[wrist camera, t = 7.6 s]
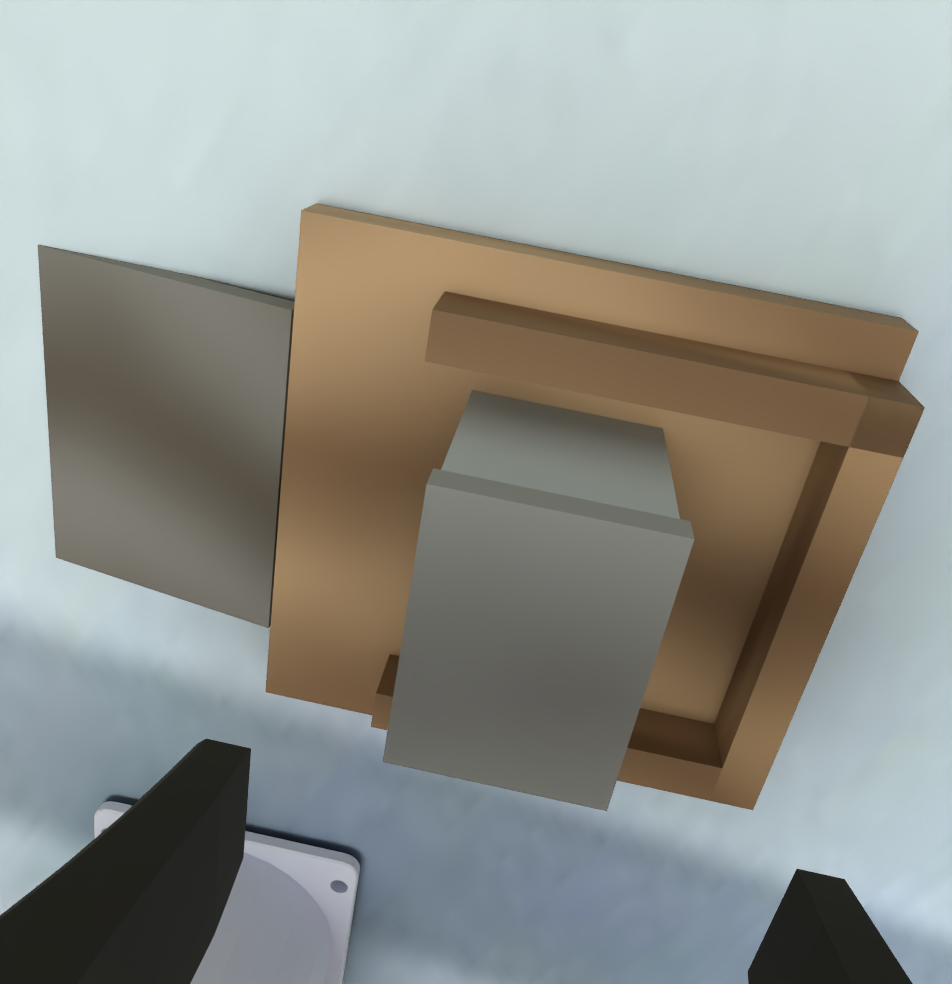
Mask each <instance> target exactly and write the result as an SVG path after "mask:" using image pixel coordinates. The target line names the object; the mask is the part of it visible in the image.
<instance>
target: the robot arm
mask: <svg viewBox="0 0 952 984" xmlns="http://www.w3.org/2000/svg"><path fill="white" fill-rule="evenodd" d="M250 754H251V749H250V748H246V747H241V746H237V745H232V744H228V743H223V742H219V741H214V740H209V739H205V740H203V741H201V742H199V743H198V744H197V745H196V746H195V747H194V748H193V749H192V750H191V751H189V752H188V753H187V754H186V755H185V756H184V757H183V758H182V759H181V760H180V761H179V762H178V763H177V764H176V765H175V766H174V767H173V768H172V769H171V770H170V771H169V772H168V773H167V774H166V775H165V776H164V777H163V778H162V779H161V780H160V781H159V782H158V783H156V784H155V785H154V786H153V787H152V788H151V789H150V790H149V791H148V792H147V793H146V794H145V795H144V796H142V797H141V798H140V799H139V800H138V801H137V802H136V803H135V804H134V805H133V806H132V805H128V804H123V803H119V802H112V801H108V802H104V803H103V804H102V805H101V806H100V807H99V808H98V810H97V811H96V813H95V815H94V835H95V839H94V840H93V841H92V842H91V843H89V844H88V845H87V846H86V847H85V848H84V849H82V850H81V851H80V852H79V853H78V854H77V855H76V856H74V857H73V858H72V859H71V860H70V861H68V862H67V863H66V864H65V865H64V866H62V867H61V868H60V869H59V870H57V871H56V872H55V873H54V874H52V875H51V876H50V877H48V878H47V879H46V880H45V881H43V882H42V883H41V884H40V885H38V886H37V887H36V888H35V889H33V890H32V891H31V892H29V893H28V894H27V895H26V896H24V897H23V898H22V899H21V900H19V901H18V902H17V903H16V904H14V905H13V906H12V907H11V908H9V909H8V910H7V911H5V912H4V913H3V914H1V915H0V984H342V983H343V977H344V970H345V964H346V957H347V951H348V944H349V938H350V931H351V925H352V918H353V912H354V905H355V899H356V892H357V886H358V880H359V873H360V864H359V863H358V861H357V860H356V859H355V858H354V857H353V856H351V855H349V854H346V853H342V852H338V851H333V850H329V849H324V848H320V847H315V846H311V845H306V844H302V843H297V842H293V841H288V840H284V839H280V838H275V837H271V836H266V835H262V834H257V833H253V832H248V831H245V828H246V813H247V799H248V784H249V769H250ZM339 880H340V881H339ZM341 881H342V882H341ZM748 981H749V984H912V982H911V981H910V979H909V978H908V976H907V975H906V973H905V972H904V970H903V969H902V967H901V965H900V964H899V962H898V961H897V959H896V958H895V956H894V955H893V953H892V952H891V950H890V949H889V947H888V945H887V944H886V942H885V941H884V939H883V938H882V936H881V935H880V933H879V932H878V930H877V928H876V927H875V925H874V924H873V922H872V921H871V919H870V918H869V916H868V915H867V913H866V911H865V910H864V908H863V907H862V905H861V904H860V902H859V901H858V899H857V898H856V896H855V894H854V893H853V891H852V890H851V888H850V887H849V885H848V884H847V882H846V881H845V879H841V878H836V877H832V876H827V875H823V874H818V873H814V872H809V871H805V870H800V869H797V870H796V872H795V874H794V876H793V878H792V880H791V882H790V884H789V886H788V888H787V891H786V893H785V895H784V897H783V899H782V901H781V903H780V905H779V907H778V909H777V911H776V914H775V916H774V918H773V920H772V922H771V924H770V926H769V928H768V930H767V932H766V934H765V937H764V939H763V941H762V943H761V945H760V947H759V949H758V951H757V953H756V955H755V958H754V960H753V962H752V964H751V966H750V968H749V970H748Z"/></svg>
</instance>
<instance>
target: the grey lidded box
mask: <svg viewBox="0 0 952 984" xmlns="http://www.w3.org/2000/svg"><path fill="white" fill-rule="evenodd" d="M693 542H694V535H693V530H692V525H691V521H687V520H682V519H680V516H679V510H678V505H677V500H676V495H675V489H674V484H673V479H672V474H671V468H670V463H669V458H668V453H667V447H666V442H665V437H664V432H663V428H659V427H654V426H649V425H644V424H639V423H634V422H629V421H624V420H619V419H614V418H609V417H604V416H600V415H595V414H590V413H585V412H580V411H575V410H570V409H565V408H560V407H555V406H550V405H545V404H540V403H535V402H530V401H525V400H520V399H515V398H510V397H506V396H501V395H496V394H491V393H486V392H481V391H476V390H472V392H471V394H470V397H469V399H468V402H467V405H466V407H465V410H464V412H463V415H462V417H461V420H460V422H459V425H458V428H457V430H456V433H455V435H454V438H453V440H452V443H451V445H450V448H449V451H448V453H447V456H446V458H445V461H444V463H443V466H442V468H441V470H439V469H434V468H433V470H432V472H431V475H430V477H429V479H428V482H427V485H426V491H425V498H424V504H423V510H422V517H421V523H420V529H419V536H418V542H417V548H416V555H415V561H414V567H413V574H412V580H411V586H410V593H409V599H408V605H407V612H406V618H405V624H404V631H403V637H402V643H401V650H400V656H399V662H398V669H397V675H396V681H395V688H394V694H393V700H392V707H391V713H390V719H389V726H388V732H387V738H386V745H385V751H384V757H383V762H386V763H390V764H395V765H400V766H404V767H409V768H413V769H418V770H422V771H427V772H431V773H436V774H441V775H445V776H450V777H454V778H459V779H463V780H468V781H472V782H477V783H482V784H486V785H491V786H495V787H500V788H504V789H509V790H513V791H518V792H523V793H527V794H532V795H536V796H541V797H545V798H550V799H554V800H559V801H564V802H568V803H573V804H577V805H582V806H586V807H591V808H595V809H600V810H605V811H607V809H608V805H609V802H610V799H611V796H612V793H613V790H614V787H615V784H616V781H617V778H618V774H619V771H620V768H621V765H622V762H623V759H624V756H625V753H626V750H627V747H628V743H629V740H630V737H631V734H632V731H633V728H634V725H635V722H636V719H637V716H638V713H639V709H640V706H641V703H642V700H643V697H644V694H645V691H646V688H647V685H648V682H649V678H650V675H651V672H652V669H653V666H654V663H655V660H656V657H657V654H658V651H659V647H660V644H661V641H662V638H663V635H664V632H665V629H666V626H667V623H668V620H669V616H670V613H671V610H672V607H673V604H674V601H675V598H676V595H677V592H678V589H679V585H680V582H681V579H682V576H683V573H684V570H685V567H686V564H687V561H688V558H689V554H690V551H691V548H692V545H693Z"/></svg>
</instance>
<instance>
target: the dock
mask: <svg viewBox="0 0 952 984" xmlns="http://www.w3.org/2000/svg"><path fill="white" fill-rule="evenodd" d="M38 256H39V274H40V291H41V308H42V325H43V343H44V360H45V377H46V394H47V412H48V429H49V446H50V463H51V481H52V498H53V515H54V532H55V550H56V558H59V559H62V560H65V561H68V562H71V563H74V564H77V565H80V566H83V567H86V568H89V569H92V570H95V571H98V572H101V573H104V574H107V575H110V576H113V577H116V578H119V579H122V580H125V581H128V582H131V583H134V584H137V585H140V586H143V587H146V588H149V589H153V590H156V591H159V592H162V593H165V594H168V595H171V596H174V597H177V598H180V599H183V600H186V601H189V602H192V603H195V604H198V605H201V606H204V607H207V608H210V609H213V610H216V611H219V612H222V613H225V614H228V615H231V616H234V617H237V618H240V619H243V620H246V621H249V622H252V623H255V624H258V625H261V626H264V627H267V628H269V627H270V640H269V653H268V667H267V680H266V692H268V693H272V694H277V695H282V696H286V697H291V698H295V699H300V700H305V701H309V702H314V703H318V704H323V705H327V706H332V707H337V708H341V709H346V710H350V711H355V712H360V713H364V714H369V715H373V716H372V723H371V727H375V728H380V729H384V730H388V726H389V719H390V713H391V707H392V700H393V694H394V688H395V681H396V675H397V669H398V662H399V656H400V650H401V643H402V637H403V631H404V624H405V618H406V612H407V605H408V599H409V593H410V586H411V580H412V574H413V567H414V561H415V555H416V548H417V542H418V536H419V529H420V523H421V517H422V510H423V504H424V498H425V491H426V485H427V482H428V479H429V477H430V475H431V472H432V470H433V468H434V469H439V470H441V468H442V466H443V463H444V461H445V458H446V456H447V453H448V451H449V448H450V445H451V443H452V440H453V438H454V435H455V433H456V430H457V428H458V425H459V422H460V420H461V417H462V415H463V412H464V410H465V407H466V405H467V402H468V399H469V397H470V394H471V392H472V390H476V391H481V392H486V393H491V394H496V395H501V396H506V397H510V398H515V399H520V400H525V401H530V402H535V403H540V404H545V405H550V406H555V407H560V408H565V409H570V410H575V411H580V412H585V413H590V414H595V415H600V416H604V417H609V418H614V419H619V420H624V421H629V422H634V423H639V424H644V425H649V426H654V427H659V428H663V432H664V437H665V442H666V447H667V453H668V458H669V463H670V468H671V474H672V479H673V484H674V489H675V495H676V500H677V505H678V510H679V516H680V519H682V520H687V521H691V525H692V530H693V535H694V542H693V545H692V548H691V551H690V554H689V558H688V561H687V564H686V567H685V570H684V573H683V576H682V579H681V582H680V585H679V589H678V592H677V595H676V598H675V601H674V604H673V607H672V610H671V613H670V616H669V620H668V623H667V626H666V629H665V632H664V635H663V638H662V641H661V644H660V647H659V651H658V654H657V657H656V660H655V663H654V666H653V669H652V672H651V675H650V678H649V682H648V685H647V688H646V691H645V694H644V697H643V700H642V703H641V706H640V709H639V713H638V716H637V719H636V722H635V725H634V728H633V731H632V734H631V737H630V740H629V743H628V747H627V750H626V753H625V756H624V759H623V762H622V765H621V768H620V771H619V774H618V778H617V780H618V781H622V782H627V783H632V784H636V785H641V786H645V787H650V788H654V789H659V790H664V791H668V792H673V793H677V794H682V795H686V796H691V797H696V798H700V799H705V800H709V801H714V802H719V803H723V804H728V805H732V806H737V807H741V808H746V809H751V810H753V808H754V806H755V804H756V801H757V799H758V797H759V794H760V792H761V790H762V787H763V785H764V783H765V780H766V778H767V776H768V773H769V771H770V769H771V766H772V764H773V762H774V759H775V757H776V755H777V752H778V750H779V748H780V745H781V743H782V741H783V738H784V736H785V734H786V731H787V729H788V727H789V724H790V722H791V719H792V717H793V715H794V712H795V710H796V708H797V705H798V703H799V701H800V698H801V696H802V694H803V691H804V689H805V687H806V684H807V682H808V680H809V677H810V675H811V673H812V670H813V668H814V666H815V663H816V661H817V659H818V656H819V654H820V652H821V649H822V647H823V645H824V642H825V640H826V638H827V635H828V633H829V631H830V628H831V626H832V623H833V621H834V619H835V616H836V614H837V612H838V609H839V607H840V605H841V602H842V600H843V598H844V595H845V593H846V591H847V588H848V586H849V584H850V581H851V579H852V577H853V574H854V572H855V570H856V567H857V565H858V563H859V560H860V558H861V556H862V553H863V551H864V549H865V546H866V544H867V542H868V539H869V537H870V535H871V532H872V530H873V527H874V525H875V523H876V520H877V518H878V516H879V513H880V511H881V509H882V506H883V504H884V502H885V499H886V497H887V495H888V492H889V490H890V488H891V485H892V483H893V481H894V478H895V476H896V474H897V471H898V469H899V467H900V464H901V462H902V460H903V457H904V455H905V453H906V450H907V448H908V446H909V443H910V441H911V439H912V436H913V434H914V431H915V429H916V427H917V424H918V422H919V420H920V417H921V415H922V413H923V410H924V408H925V407H924V406H923V405H922V404H921V403H920V402H919V401H918V400H917V399H916V398H915V397H914V396H913V395H912V394H911V393H910V392H909V391H908V390H907V389H906V388H905V387H904V386H903V385H902V384H901V383H900V382H899V379H900V376H901V374H902V371H903V369H904V366H905V364H906V362H907V359H908V357H909V354H910V352H911V349H912V347H913V344H914V342H915V339H916V337H917V334H918V332H919V331H917V330H916V329H915V328H914V327H912V326H911V325H910V324H909V323H907V322H906V321H905V320H903V319H902V318H898V317H893V316H888V315H882V314H877V313H872V312H867V311H862V310H857V309H852V308H847V307H842V306H836V305H831V304H826V303H821V302H816V301H811V300H806V299H801V298H796V297H791V296H785V295H780V294H775V293H770V292H765V291H760V290H755V289H750V288H745V287H739V286H734V285H729V284H724V283H719V282H714V281H709V280H704V279H699V278H693V277H688V276H683V275H678V274H673V273H668V272H663V271H658V270H653V269H648V268H642V267H637V266H632V265H627V264H622V263H617V262H612V261H607V260H602V259H596V258H591V257H586V256H581V255H576V254H571V253H566V252H561V251H556V250H550V249H545V248H540V247H535V246H530V245H525V244H520V243H515V242H510V241H505V240H499V239H494V238H489V237H484V236H479V235H474V234H469V233H464V232H459V231H453V230H448V229H443V228H438V227H433V226H428V225H423V224H418V223H413V222H407V221H402V220H397V219H392V218H387V217H382V216H377V215H372V214H367V213H361V212H356V211H351V210H346V209H341V208H336V207H331V206H326V205H321V204H314V205H312V206H310V207H308V208H306V209H304V210H301V224H300V237H299V250H298V264H297V277H296V291H295V302H294V301H290V300H286V299H282V298H278V297H274V296H270V295H266V294H262V293H258V292H254V291H250V290H246V289H242V288H239V287H235V286H231V285H227V284H223V283H219V282H215V281H211V280H207V279H203V278H199V277H195V276H191V275H187V274H182V273H177V272H172V271H167V270H162V269H157V268H152V267H147V266H142V265H137V264H132V263H127V262H122V261H117V260H112V259H107V258H102V257H97V256H92V255H87V254H82V253H77V252H72V251H67V250H62V249H57V248H52V247H47V246H42V245H38Z"/></svg>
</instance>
